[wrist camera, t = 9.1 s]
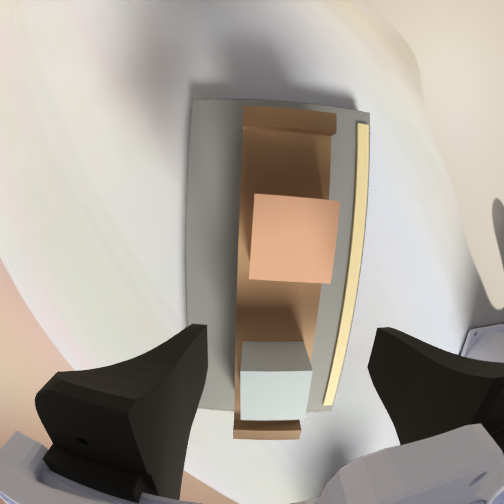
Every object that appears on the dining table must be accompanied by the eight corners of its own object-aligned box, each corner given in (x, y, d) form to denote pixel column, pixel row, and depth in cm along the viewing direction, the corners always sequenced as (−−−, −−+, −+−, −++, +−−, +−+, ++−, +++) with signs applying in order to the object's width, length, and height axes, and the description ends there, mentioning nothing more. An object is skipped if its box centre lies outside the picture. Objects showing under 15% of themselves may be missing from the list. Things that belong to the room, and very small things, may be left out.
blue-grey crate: (303, 341, 16) (312, 370, 13) (298, 387, 17) (304, 419, 14) (242, 341, 16) (240, 371, 13) (242, 387, 17) (240, 419, 14)
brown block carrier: (246, 127, 17) (243, 105, 12) (315, 132, 17) (336, 113, 12) (236, 395, 21) (233, 438, 16) (291, 396, 21) (299, 439, 16)
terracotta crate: (323, 199, 14) (340, 201, 11) (316, 265, 15) (330, 283, 12) (254, 193, 14) (254, 193, 11) (250, 261, 15) (248, 279, 12)
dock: (359, 119, 19) (371, 111, 17) (327, 397, 24) (332, 412, 21) (198, 107, 19) (191, 98, 17) (197, 393, 24) (193, 409, 21)
